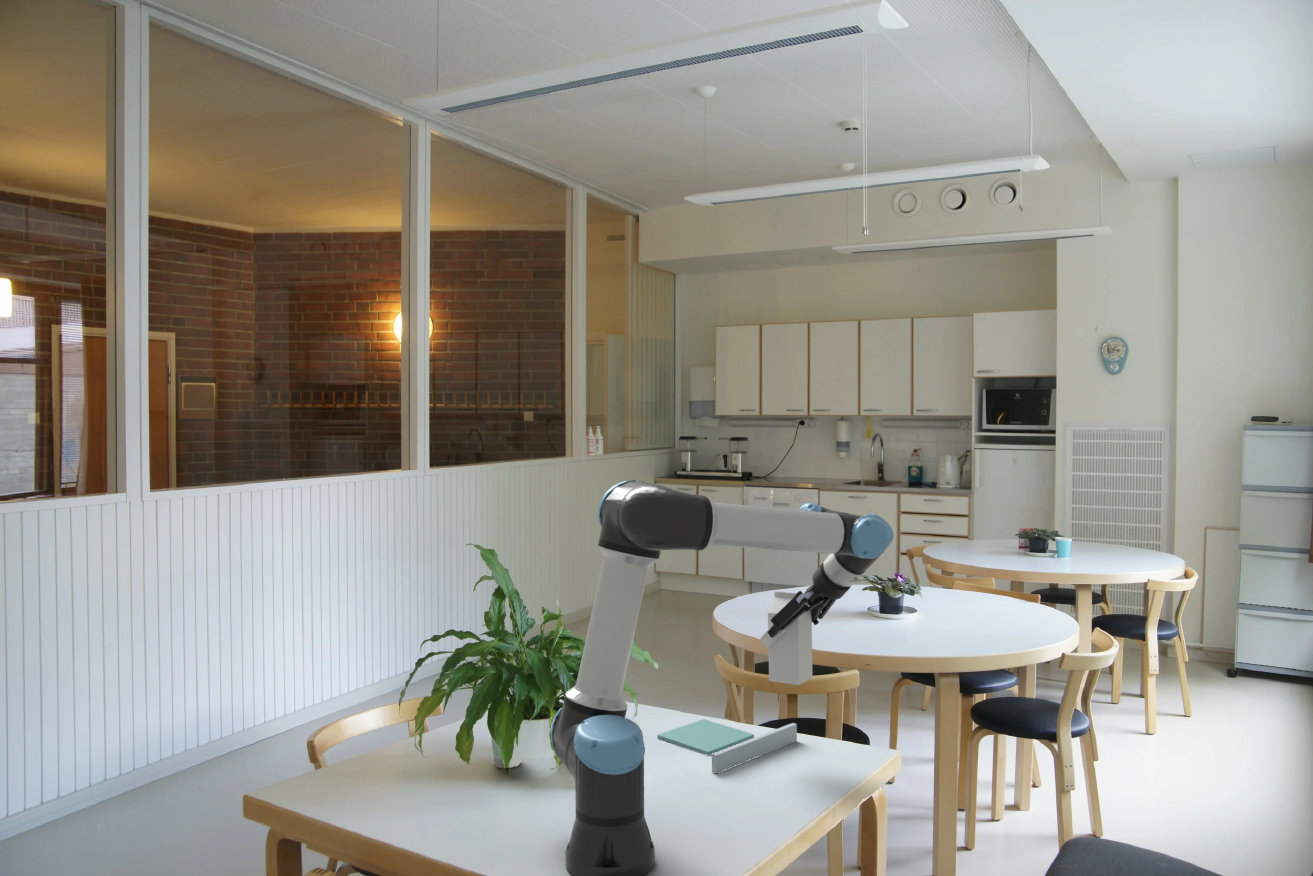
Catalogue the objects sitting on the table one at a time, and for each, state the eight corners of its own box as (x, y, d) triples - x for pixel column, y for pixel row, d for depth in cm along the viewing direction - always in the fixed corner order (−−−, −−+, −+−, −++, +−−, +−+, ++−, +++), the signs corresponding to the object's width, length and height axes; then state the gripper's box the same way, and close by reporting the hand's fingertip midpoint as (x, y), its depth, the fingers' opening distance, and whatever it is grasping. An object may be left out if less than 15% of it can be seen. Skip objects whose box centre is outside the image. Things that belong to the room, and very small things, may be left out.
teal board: (708, 755, 211) (708, 751, 211) (657, 738, 222) (657, 735, 222) (754, 737, 222) (754, 734, 222) (703, 722, 234) (703, 719, 234)
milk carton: (799, 686, 201) (797, 596, 201) (768, 681, 205) (767, 594, 205) (812, 678, 207) (811, 591, 207) (783, 674, 211) (781, 589, 211)
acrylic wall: (716, 774, 200) (716, 755, 200) (711, 772, 201) (711, 754, 201) (796, 741, 220) (796, 724, 220) (792, 740, 221) (792, 723, 220)
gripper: (816, 595, 187) (756, 663, 199) (877, 582, 202) (817, 645, 214) (794, 566, 191) (736, 634, 203) (856, 555, 206) (798, 619, 218)
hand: (778, 640), depth 208 cm, fingers closed on milk carton, 8 cm apart
